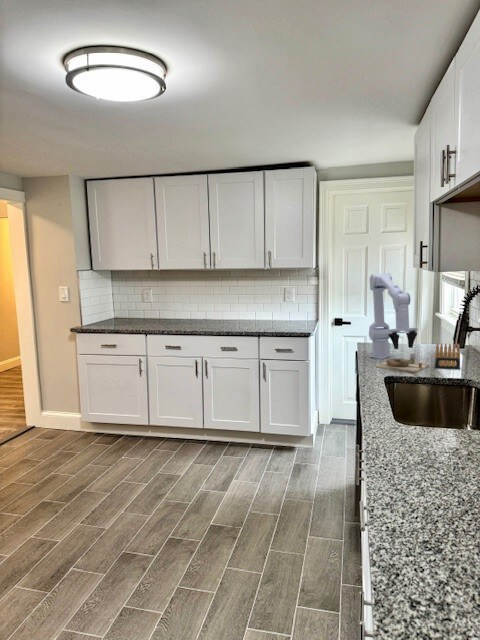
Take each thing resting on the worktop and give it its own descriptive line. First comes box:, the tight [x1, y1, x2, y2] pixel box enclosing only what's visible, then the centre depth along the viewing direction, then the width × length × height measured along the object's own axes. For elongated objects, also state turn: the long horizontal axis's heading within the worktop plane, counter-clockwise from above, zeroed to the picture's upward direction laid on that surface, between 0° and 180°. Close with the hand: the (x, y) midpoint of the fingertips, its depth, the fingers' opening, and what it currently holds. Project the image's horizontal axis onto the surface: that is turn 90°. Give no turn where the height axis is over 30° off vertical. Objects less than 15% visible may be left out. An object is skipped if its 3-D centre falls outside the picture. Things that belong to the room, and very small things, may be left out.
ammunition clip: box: [434, 342, 461, 370], centre depth 206 cm, size 11×2×12 cm, turn 71°
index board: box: [375, 360, 430, 374], centre depth 213 cm, size 16×19×3 cm
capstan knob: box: [386, 353, 416, 367], centre depth 214 cm, size 14×10×4 cm
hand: (403, 348), depth 206 cm, fingers open, 7 cm apart
